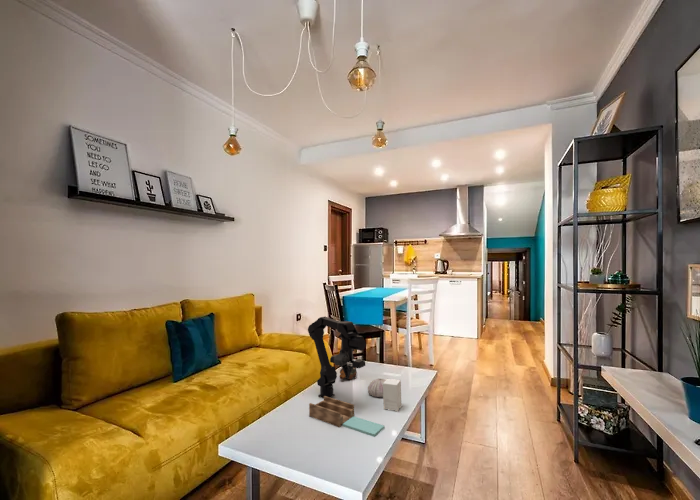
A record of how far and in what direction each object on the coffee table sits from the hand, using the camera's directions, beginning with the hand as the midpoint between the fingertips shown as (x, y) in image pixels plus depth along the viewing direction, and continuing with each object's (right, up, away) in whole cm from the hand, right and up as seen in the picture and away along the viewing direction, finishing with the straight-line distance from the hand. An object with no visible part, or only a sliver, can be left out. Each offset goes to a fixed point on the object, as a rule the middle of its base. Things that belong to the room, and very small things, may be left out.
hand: (347, 378), depth 163 cm
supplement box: (+22, -13, -5) cm, 26 cm away
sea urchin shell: (+18, -14, +13) cm, 26 cm away
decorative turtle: (0, -15, +38) cm, 40 cm away
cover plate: (+7, -12, -23) cm, 28 cm away
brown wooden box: (-7, -12, -14) cm, 20 cm away
